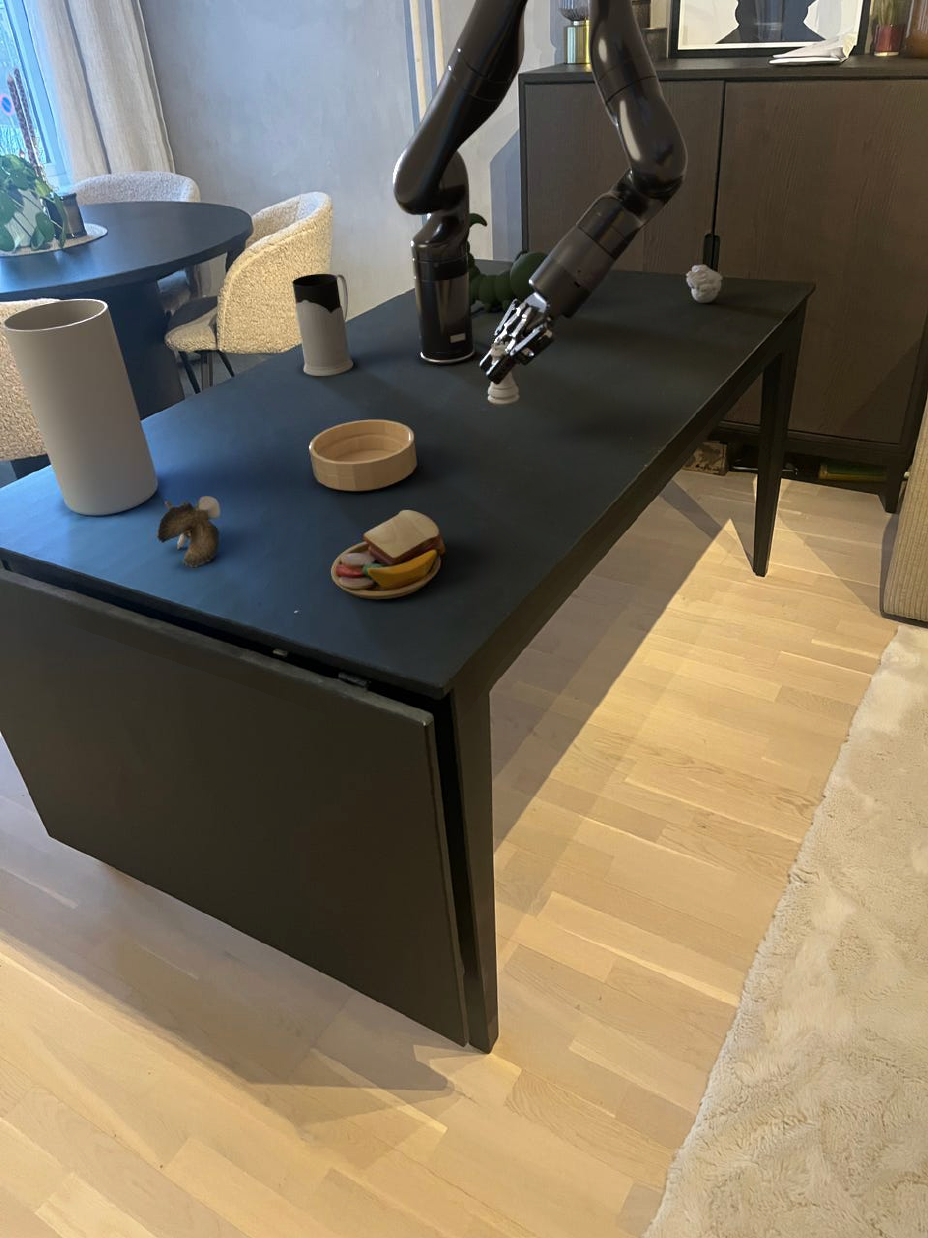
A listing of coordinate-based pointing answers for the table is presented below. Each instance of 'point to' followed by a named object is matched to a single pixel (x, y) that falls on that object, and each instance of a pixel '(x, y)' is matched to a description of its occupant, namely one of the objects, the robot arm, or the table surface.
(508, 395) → the rook chess piece
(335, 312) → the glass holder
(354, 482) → the bowl
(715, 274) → the white lumpy rounded piece
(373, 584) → the toy sandwich meal
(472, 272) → the toy figurine
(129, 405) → the cylinder vase
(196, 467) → the table surface
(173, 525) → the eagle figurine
